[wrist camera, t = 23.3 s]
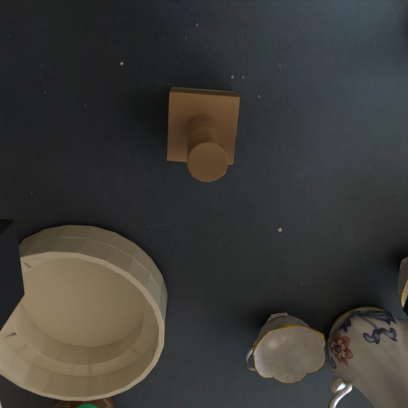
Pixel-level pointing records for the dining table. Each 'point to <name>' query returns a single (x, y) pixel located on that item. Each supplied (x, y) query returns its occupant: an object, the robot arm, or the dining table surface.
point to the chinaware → (342, 351)
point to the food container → (85, 403)
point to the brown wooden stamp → (202, 130)
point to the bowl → (84, 315)
